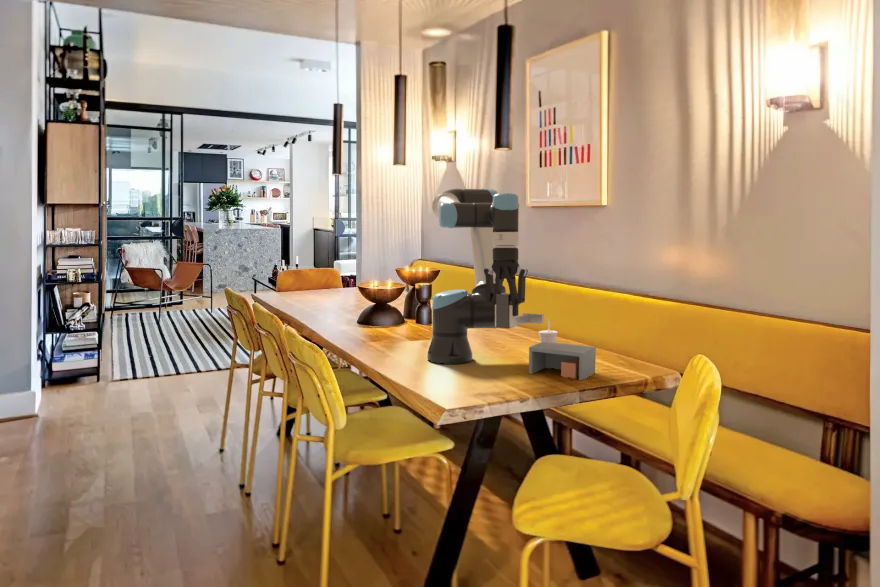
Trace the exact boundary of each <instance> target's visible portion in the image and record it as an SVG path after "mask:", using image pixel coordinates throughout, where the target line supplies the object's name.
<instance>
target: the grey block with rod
mask: <svg viewBox="0 0 880 587" xmlns="http://www.w3.org/2000/svg"><path fill="white" fill-rule="evenodd" d="M511 304H512V302H511V296H510V292H506V293H499V294H496V329H506V330H507V329H508V330H509V329H510V328H509V305H511ZM544 318H545V313H531V312H523V313H522V314H518V316H516V327H517V326H521V325H525V324H544V323H545V322H544V321H545V319H544Z"/></svg>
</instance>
